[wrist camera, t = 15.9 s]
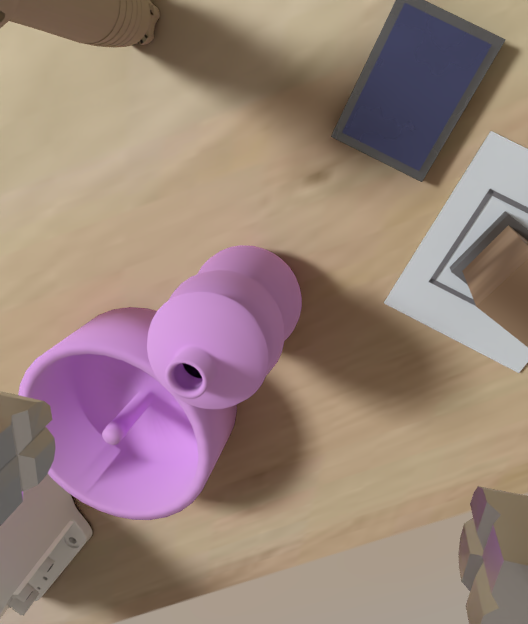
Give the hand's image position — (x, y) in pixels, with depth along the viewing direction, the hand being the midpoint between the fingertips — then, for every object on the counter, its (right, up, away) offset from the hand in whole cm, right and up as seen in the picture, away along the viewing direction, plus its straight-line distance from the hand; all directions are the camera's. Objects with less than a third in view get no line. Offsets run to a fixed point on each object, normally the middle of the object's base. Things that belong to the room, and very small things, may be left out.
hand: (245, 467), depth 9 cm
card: (+15, +6, +21) cm, 27 cm away
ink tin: (+9, +16, +19) cm, 26 cm away
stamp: (+15, +6, +21) cm, 27 cm away
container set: (-6, -1, +30) cm, 31 cm away
